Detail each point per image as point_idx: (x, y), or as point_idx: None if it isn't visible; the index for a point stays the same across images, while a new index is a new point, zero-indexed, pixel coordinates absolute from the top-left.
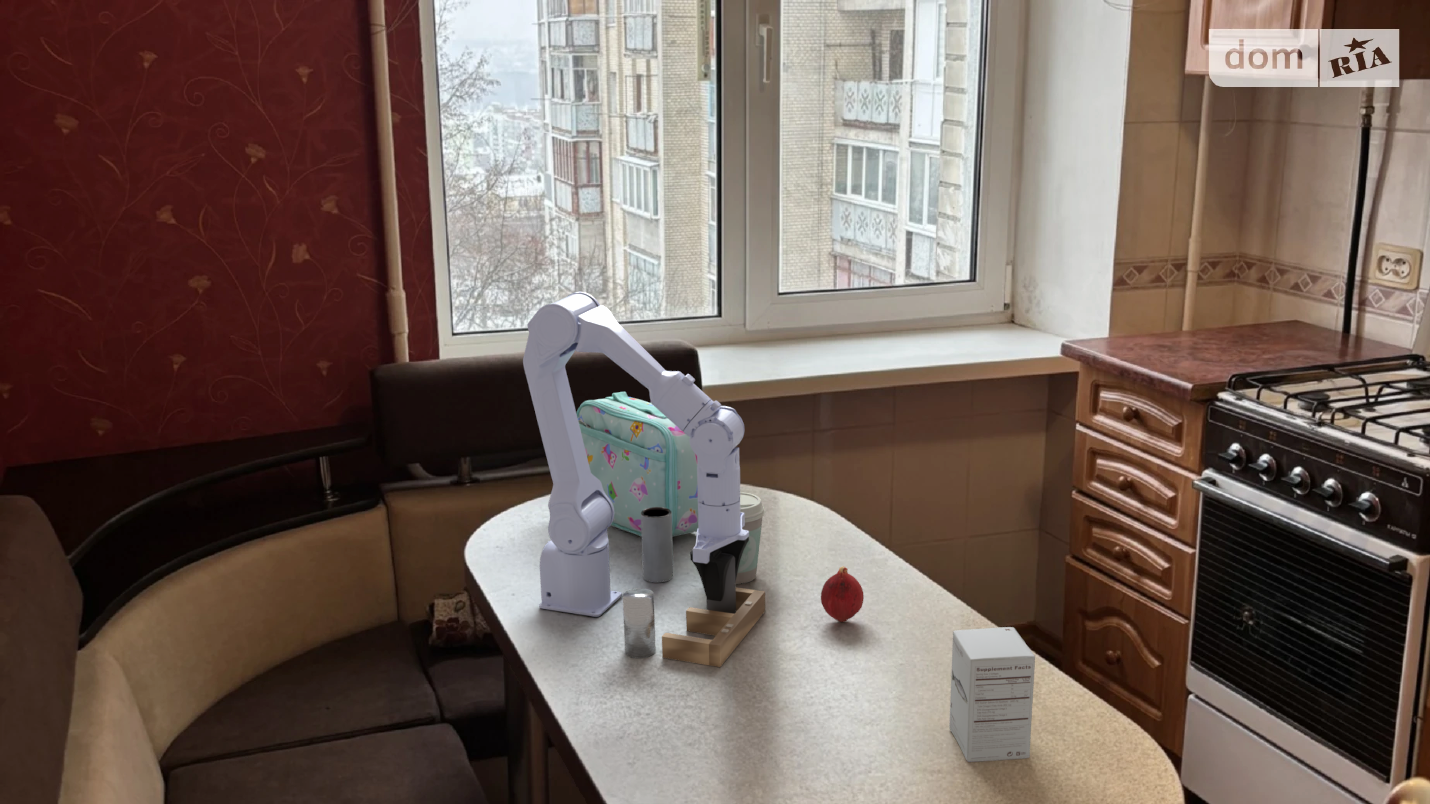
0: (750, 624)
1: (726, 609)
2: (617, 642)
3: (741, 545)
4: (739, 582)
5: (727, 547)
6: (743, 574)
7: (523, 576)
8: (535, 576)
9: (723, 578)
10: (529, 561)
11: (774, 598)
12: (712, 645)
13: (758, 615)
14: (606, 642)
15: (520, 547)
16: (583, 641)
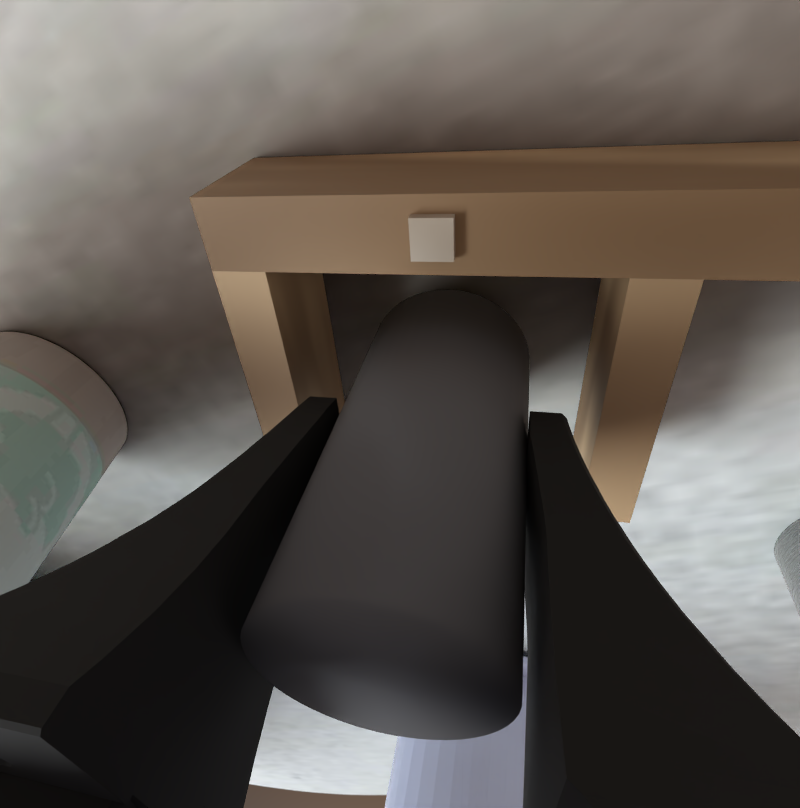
0: (518, 158)
1: (508, 348)
2: (757, 608)
3: (112, 675)
4: (92, 375)
5: (200, 703)
6: (52, 383)
7: (392, 756)
8: (382, 745)
9: (632, 555)
10: (323, 751)
11: (92, 169)
12: None
13: (362, 161)
14: (759, 631)
15: (277, 759)
16: (753, 672)
